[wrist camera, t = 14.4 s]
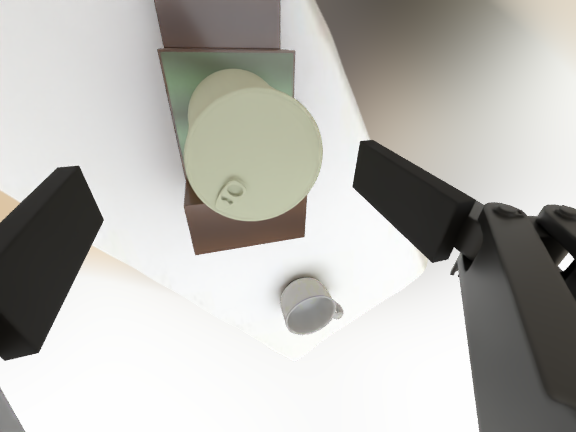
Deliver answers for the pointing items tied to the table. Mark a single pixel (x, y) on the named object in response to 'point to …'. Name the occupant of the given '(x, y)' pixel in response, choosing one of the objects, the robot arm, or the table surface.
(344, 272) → the table surface
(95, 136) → the table surface
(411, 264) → the table surface
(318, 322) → the teacup
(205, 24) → the shelf riser
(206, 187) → the can
